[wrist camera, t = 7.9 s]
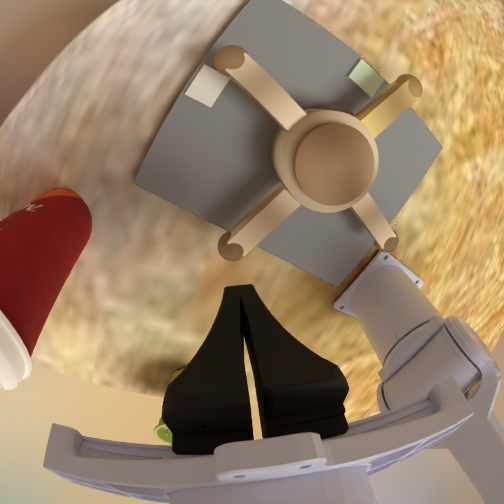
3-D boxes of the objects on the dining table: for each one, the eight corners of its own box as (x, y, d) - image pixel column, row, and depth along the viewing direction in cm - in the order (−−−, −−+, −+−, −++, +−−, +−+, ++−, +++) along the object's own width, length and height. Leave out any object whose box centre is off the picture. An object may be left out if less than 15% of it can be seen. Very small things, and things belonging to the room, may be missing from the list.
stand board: (434, 144, 20) (444, 148, 19) (333, 280, 26) (338, 289, 25) (258, -6, 13) (261, -13, 12) (137, 178, 19) (131, 184, 18)
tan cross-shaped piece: (297, 300, 25) (310, 332, 22) (124, 159, 17) (102, 174, 13) (443, 168, 20) (474, 183, 16) (317, -13, 12) (340, -34, 8)
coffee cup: (46, 157, 17) (-89, 248, 4) (119, 206, 20) (25, 354, 7) (22, 233, 20) (-65, 341, 7) (85, 276, 23) (24, 411, 10)
